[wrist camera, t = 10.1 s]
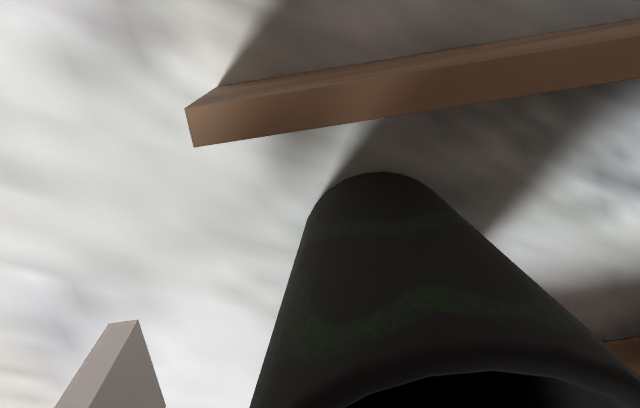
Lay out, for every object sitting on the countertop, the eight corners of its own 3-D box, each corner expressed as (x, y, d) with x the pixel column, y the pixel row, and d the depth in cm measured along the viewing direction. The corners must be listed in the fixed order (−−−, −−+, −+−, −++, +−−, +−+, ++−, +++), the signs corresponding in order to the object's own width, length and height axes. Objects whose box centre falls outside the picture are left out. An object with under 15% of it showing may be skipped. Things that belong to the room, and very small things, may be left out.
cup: (483, 131, 18) (773, 323, 7) (483, 324, 20) (693, 706, 9) (259, 154, 18) (162, 380, 7) (287, 343, 21) (250, 739, 9)
